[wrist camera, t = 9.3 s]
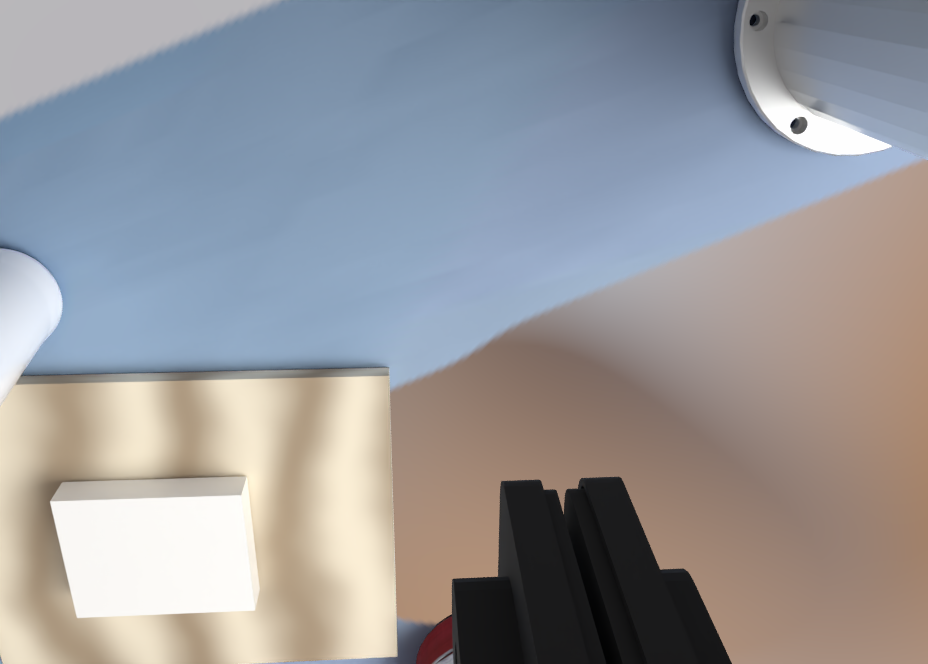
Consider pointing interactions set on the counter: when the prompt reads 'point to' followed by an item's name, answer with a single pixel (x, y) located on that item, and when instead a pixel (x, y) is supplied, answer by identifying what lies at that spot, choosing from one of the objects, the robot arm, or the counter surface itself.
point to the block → (157, 546)
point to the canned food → (437, 644)
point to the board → (201, 456)
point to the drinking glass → (24, 313)
